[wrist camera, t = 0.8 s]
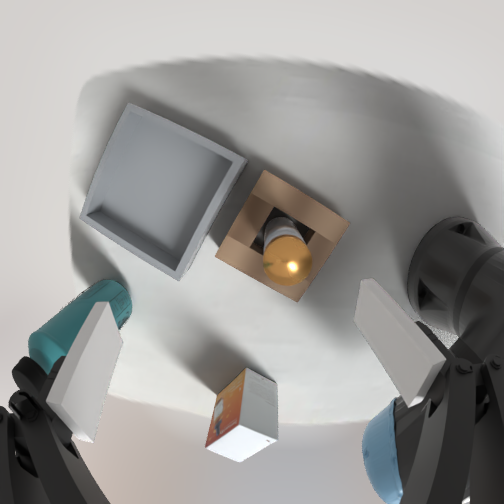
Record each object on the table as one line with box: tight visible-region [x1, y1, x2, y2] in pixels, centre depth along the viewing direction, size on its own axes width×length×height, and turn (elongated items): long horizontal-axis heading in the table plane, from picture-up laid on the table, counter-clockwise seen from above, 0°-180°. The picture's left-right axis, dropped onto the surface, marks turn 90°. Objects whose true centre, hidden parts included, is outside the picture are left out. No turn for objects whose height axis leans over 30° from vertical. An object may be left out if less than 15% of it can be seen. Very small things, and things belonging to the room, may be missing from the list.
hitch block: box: [215, 170, 350, 302], centre depth 29 cm, size 10×10×3 cm
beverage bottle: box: [12, 280, 132, 400], centre depth 24 cm, size 6×7×20 cm
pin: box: [263, 217, 312, 286], centre depth 25 cm, size 4×4×10 cm
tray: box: [80, 102, 248, 281], centre depth 27 cm, size 14×14×4 cm
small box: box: [205, 367, 278, 462], centre depth 31 cm, size 8×6×10 cm
